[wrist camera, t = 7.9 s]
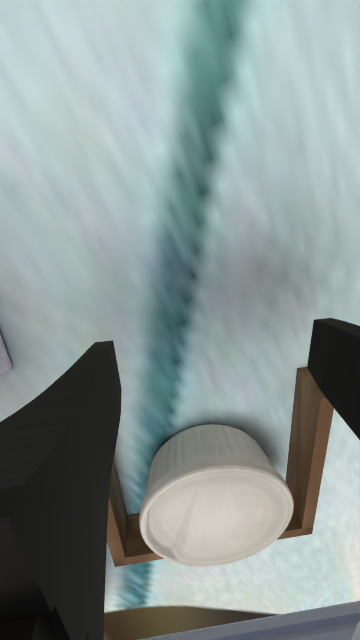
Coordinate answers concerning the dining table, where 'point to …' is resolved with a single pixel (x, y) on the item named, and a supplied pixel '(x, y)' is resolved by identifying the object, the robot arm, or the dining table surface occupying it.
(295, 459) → the box
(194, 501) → the ramekin
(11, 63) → the dining table surface
